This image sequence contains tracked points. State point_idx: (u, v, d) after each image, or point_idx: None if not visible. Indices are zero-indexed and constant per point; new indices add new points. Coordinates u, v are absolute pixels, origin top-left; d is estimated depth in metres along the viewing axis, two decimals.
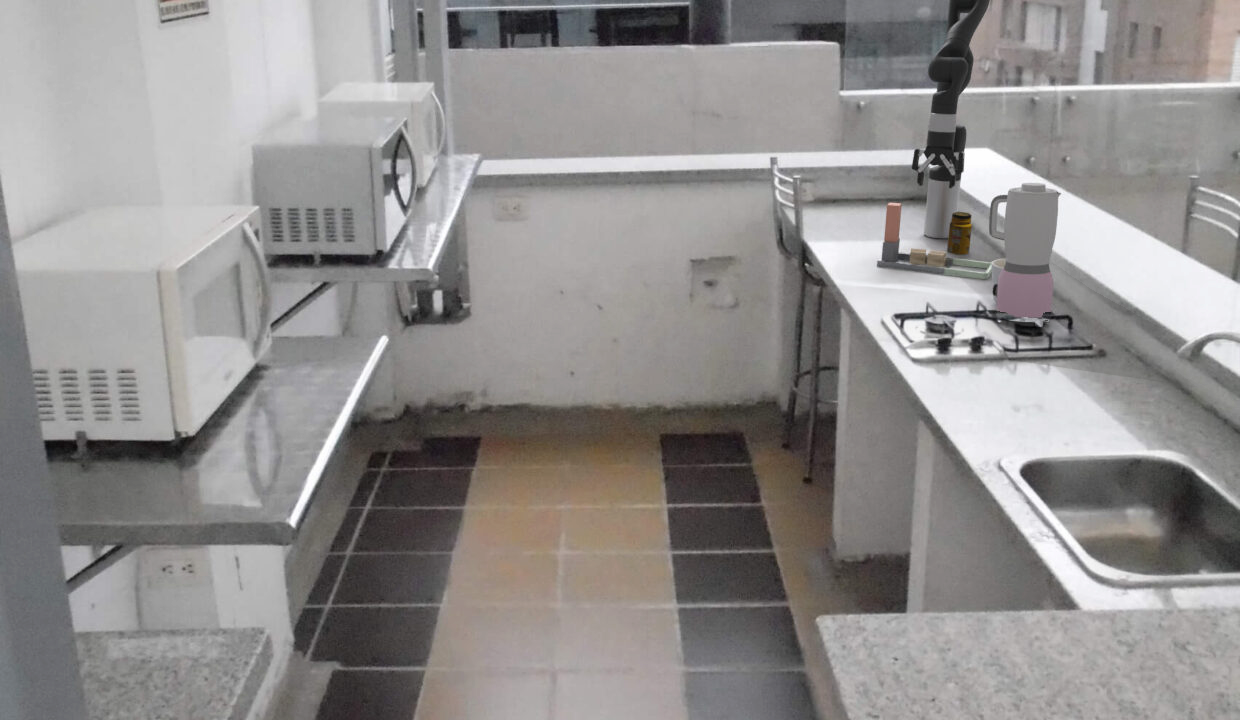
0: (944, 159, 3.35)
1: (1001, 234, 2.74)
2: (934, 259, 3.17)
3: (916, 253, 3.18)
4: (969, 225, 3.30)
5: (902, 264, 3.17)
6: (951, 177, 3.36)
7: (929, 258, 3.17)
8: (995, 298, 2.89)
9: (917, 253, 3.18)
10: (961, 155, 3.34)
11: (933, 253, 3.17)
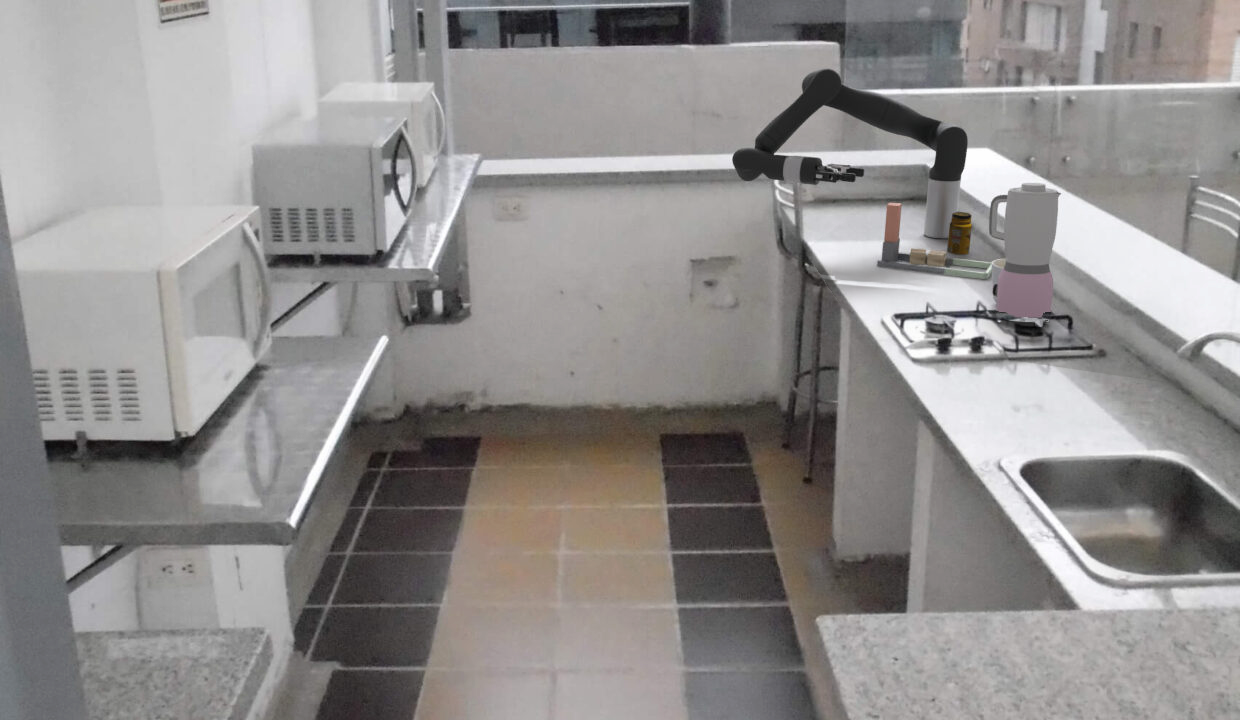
0: None
1: (1001, 234, 2.74)
2: (934, 259, 3.17)
3: (916, 253, 3.18)
4: (969, 225, 3.30)
5: (902, 264, 3.17)
6: (843, 180, 3.21)
7: (929, 258, 3.17)
8: (995, 298, 2.89)
9: (917, 253, 3.18)
10: (818, 180, 3.22)
11: (933, 253, 3.17)
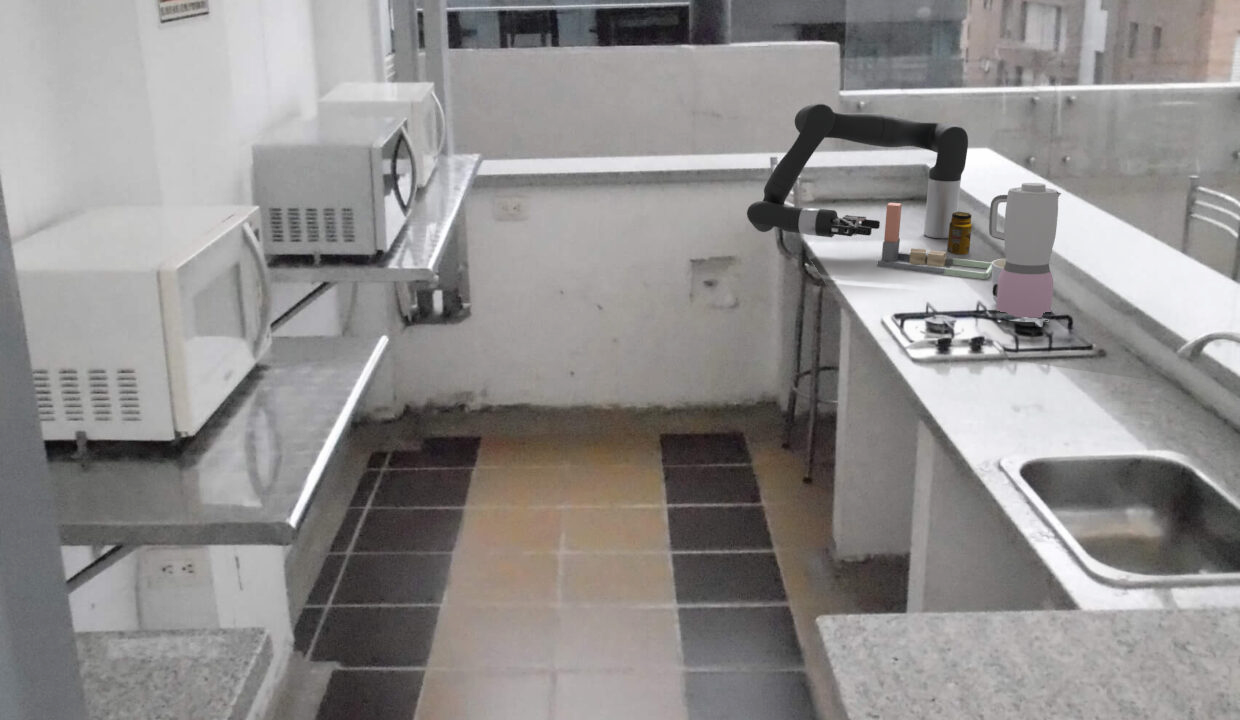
0: None
1: (1001, 234, 2.74)
2: (934, 259, 3.17)
3: (916, 253, 3.18)
4: (969, 225, 3.30)
5: (902, 264, 3.17)
6: (859, 234, 3.21)
7: (929, 258, 3.17)
8: (995, 298, 2.89)
9: (917, 253, 3.18)
10: (834, 234, 3.22)
11: (933, 253, 3.17)
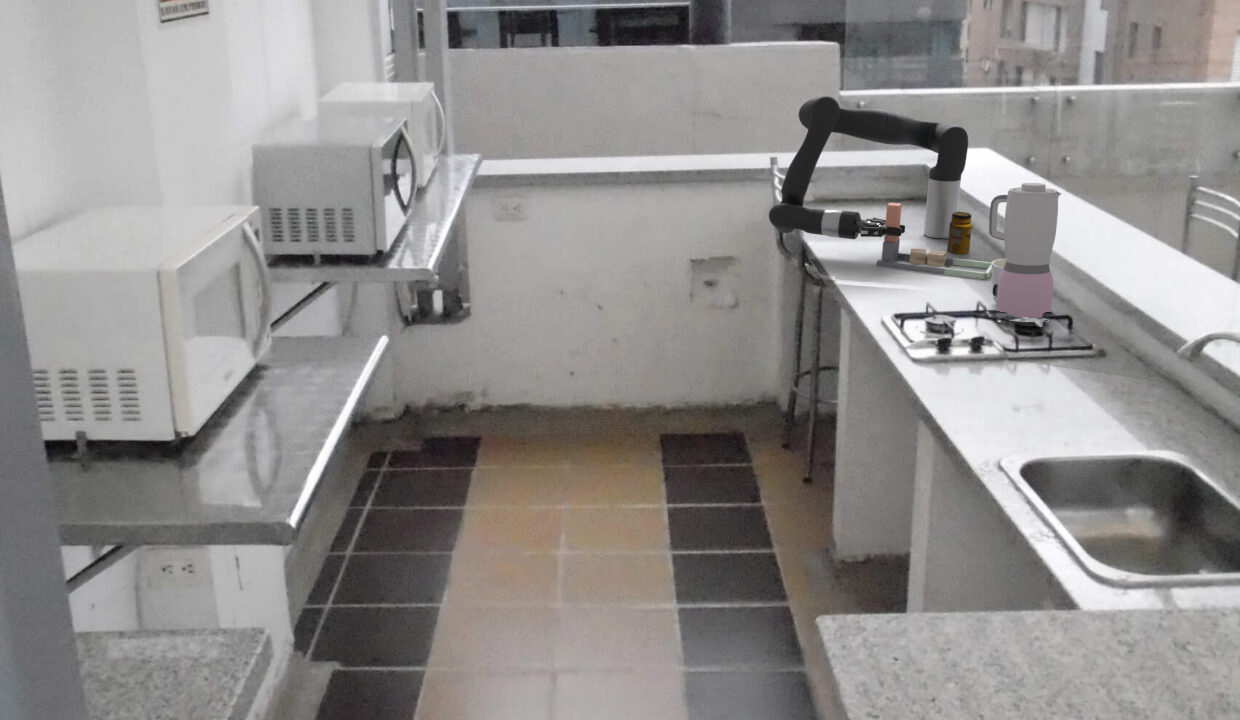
0: None
1: (1001, 234, 2.74)
2: (934, 259, 3.17)
3: (916, 253, 3.18)
4: (969, 225, 3.30)
5: (902, 264, 3.17)
6: None
7: (929, 258, 3.17)
8: (995, 298, 2.89)
9: (917, 253, 3.18)
10: None
11: (933, 253, 3.17)
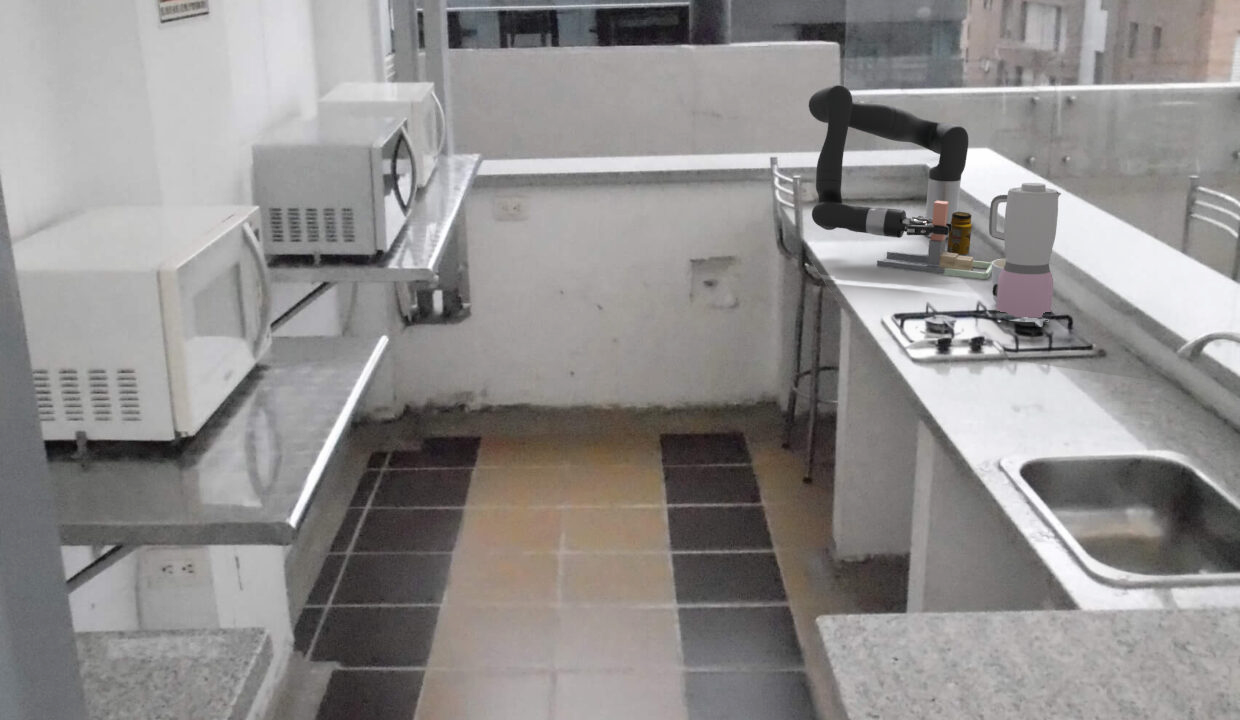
0: None
1: (1001, 234, 2.74)
2: (961, 264, 3.13)
3: (946, 257, 3.15)
4: (969, 225, 3.30)
5: (902, 264, 3.17)
6: (936, 233, 3.14)
7: (956, 263, 3.14)
8: (995, 298, 2.89)
9: (947, 257, 3.14)
10: (910, 234, 3.13)
11: (960, 258, 3.14)
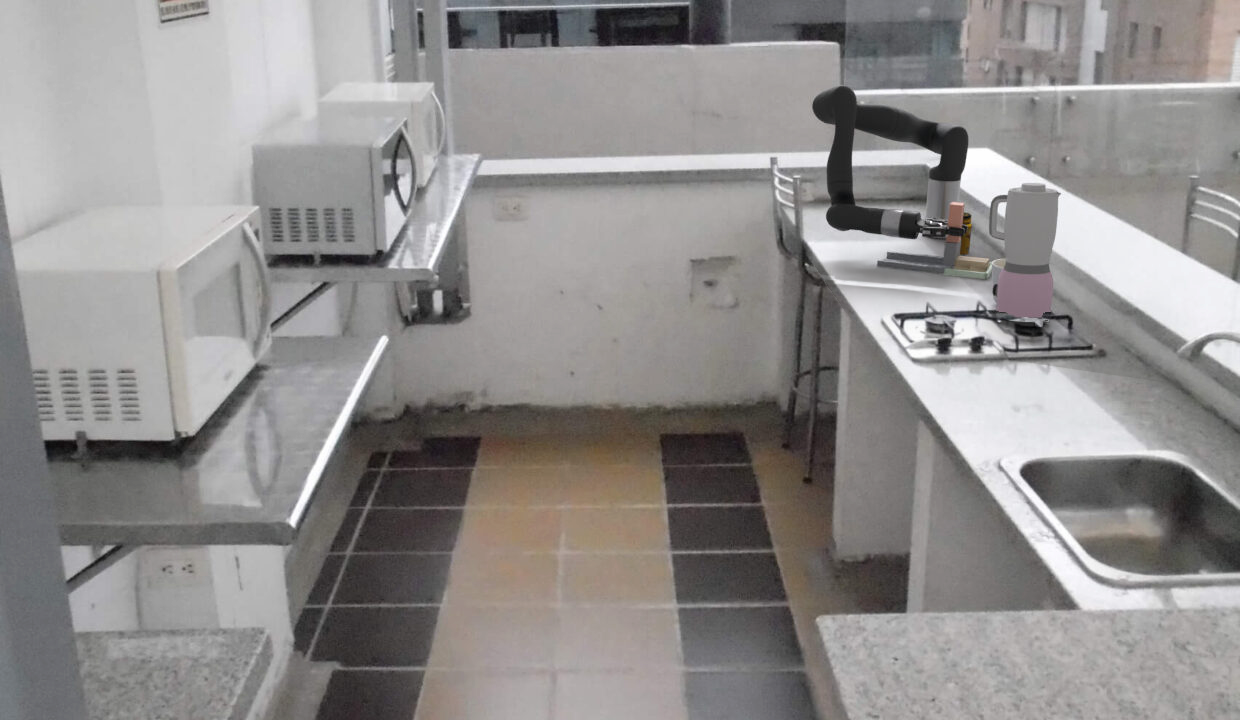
0: None
1: (1001, 234, 2.74)
2: (977, 266, 3.12)
3: (961, 260, 3.13)
4: (969, 225, 3.30)
5: (902, 264, 3.17)
6: (951, 235, 3.13)
7: (972, 265, 3.12)
8: (995, 298, 2.89)
9: (962, 260, 3.13)
10: (925, 236, 3.12)
11: (976, 260, 3.12)
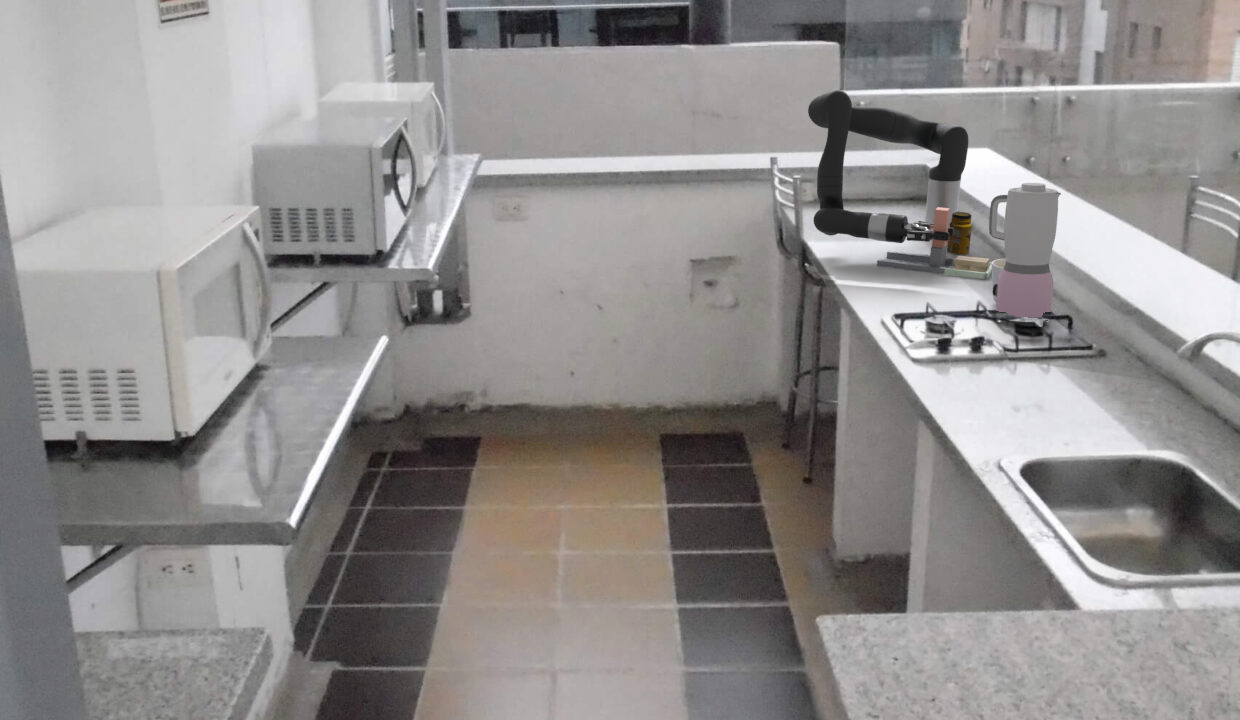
0: None
1: (1001, 234, 2.74)
2: (977, 266, 3.12)
3: (961, 260, 3.13)
4: (969, 225, 3.30)
5: (902, 264, 3.17)
6: (936, 239, 3.14)
7: (972, 265, 3.12)
8: (995, 298, 2.89)
9: (962, 260, 3.13)
10: (910, 240, 3.14)
11: (976, 260, 3.12)
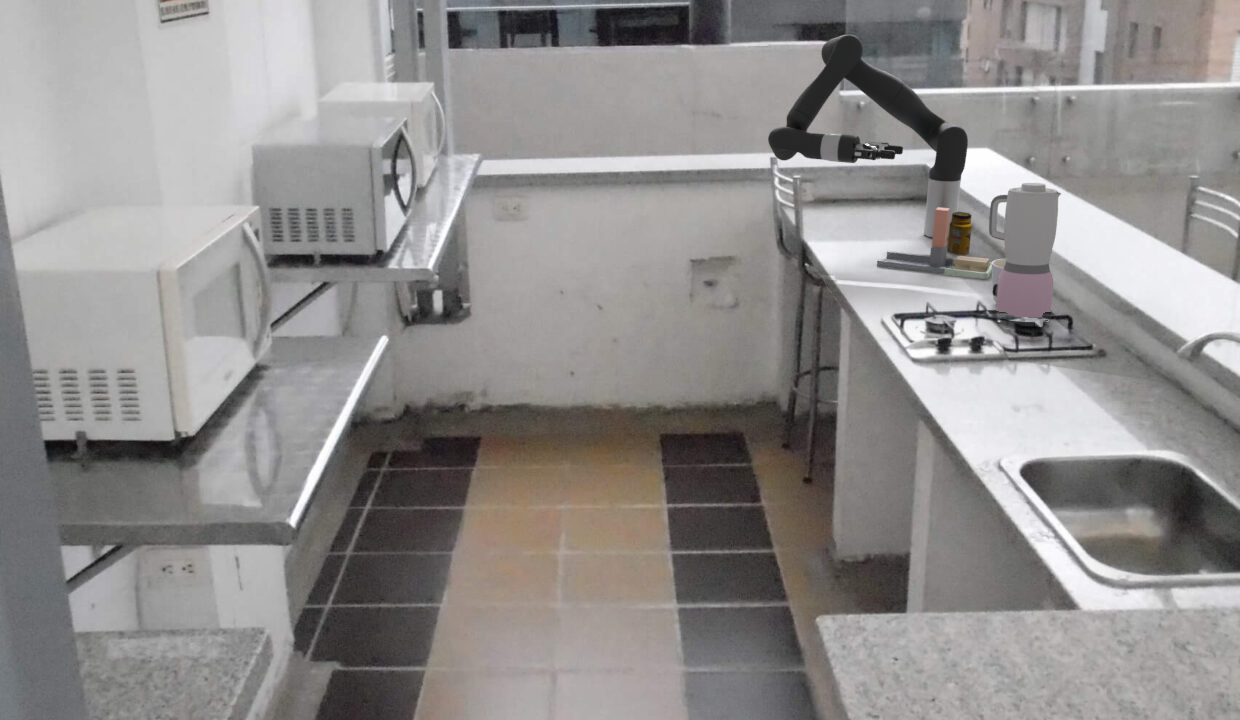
0: None
1: (1001, 234, 2.74)
2: (977, 266, 3.12)
3: (961, 260, 3.13)
4: (969, 225, 3.30)
5: (902, 264, 3.17)
6: (882, 158, 3.17)
7: (972, 265, 3.12)
8: (995, 298, 2.89)
9: (962, 260, 3.13)
10: (857, 158, 3.18)
11: (976, 260, 3.12)
